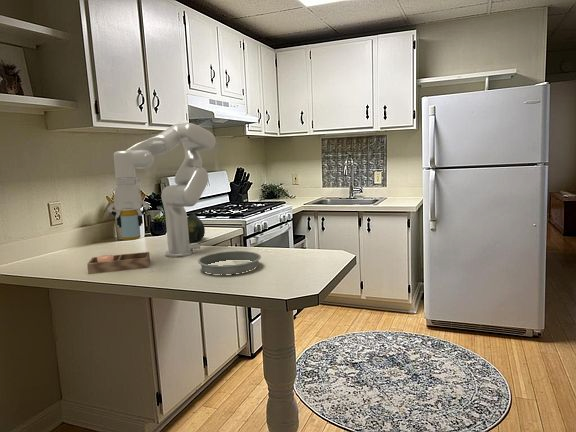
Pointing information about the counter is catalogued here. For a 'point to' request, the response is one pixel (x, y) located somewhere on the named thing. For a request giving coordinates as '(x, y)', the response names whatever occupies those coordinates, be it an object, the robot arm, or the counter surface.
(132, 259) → the caddy
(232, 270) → the cake pan
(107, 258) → the pink small block
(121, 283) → the counter surface
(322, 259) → the counter surface
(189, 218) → the squash
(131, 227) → the bottle
